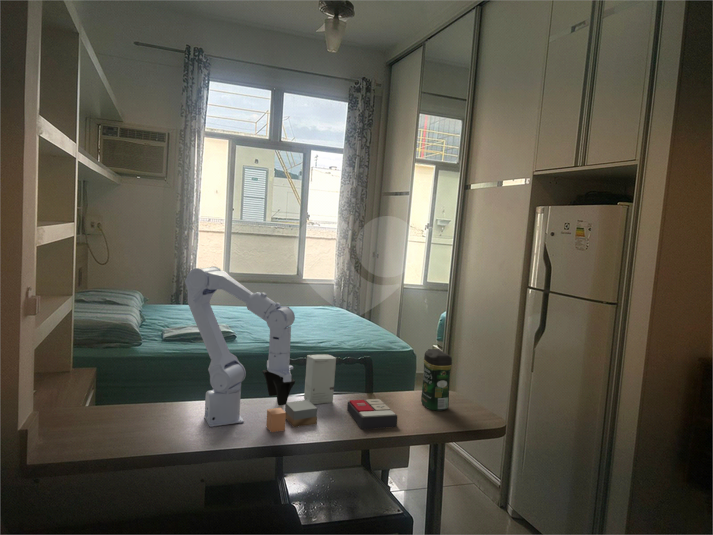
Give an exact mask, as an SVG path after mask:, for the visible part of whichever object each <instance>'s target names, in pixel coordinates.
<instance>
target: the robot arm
mask: <svg viewBox="0 0 713 535" xmlns="http://www.w3.org/2000/svg"><path fill="white" fill-rule="evenodd" d="M184 284H185V286H186V288H187V304H188V307H189V309H190V310H189V311H191V314H192V317H193V319H194V322H195V324H196V326H197V328H198V331H199V334H200V336H201V339H202V341H203V344H204V345H205V346H204V347H205V348H206V351H207V354H208V355H209V358H210V363H209V365H208V369H207V370H208V373H209V384H210V386H211V387H212V389H211V390H207V391H206V392H205V397H204V398H205V399H204V402H205V403H204V416H203V417H204V420H205V421H206V423H207V425H208V426H209V427H211V428H212V427H219V426H226V425H233V424H239V423H240V424H242V423H244V422H245V420H244V419H243V417H242V416H241V414H240V412H241V411H240V410H241V392H242V382H243V381H244V380H245V378H246V375H247V373H246V368H245V367H244V365H243V364H242V363H241V362H240V361H239V359H238V357H237V356H236V355H234V354H233V353H232V352H231V351H230V350H229V346H228V344H227V342H226V340H225V337H224V335H223V332H222V330H221V328H220V325H219V323H218V320H217V318H216V316H215V312H214V310H213V308H212V306H211V304H210V301H211V299H212V297H213V296H214V294H215V293H216V292H217V290H223V291H224V292H226V293H228V294H229V295H231V296H234V297H235V298H237V299H238V300H240V301H241V302H243V303H245V305H246V309H247V310H248V311H249V312H251V313H252V314H254V315H255V316H257V317H258V318H260V319H262V320H263V321H265V322H266V325H267V326H268V328H269V345H268V360H266V368H267V369H263V370H262V374H263V375H264V378H265V381H266V386H267V387H266V388H267V393H268V396H269V397H274V396H276V402H277V405H278V407H279V406H285V405H286V403H287V402H288V398H289V396H290V392H291V390H292V388H293V386H294V385H295V382H296V380H295V379H294V378H292V374H291V370H294V366H293V365H291V364H290V361H291V360H290V359H291V358H290V357H291V342H292V341H291V337H292V335H291V334H292V325H293V324H294V322H295V320H296V316H295V312H294V311H293V309H291V308H290V306H287V305H283V306H282V304H281V303H280V302H275V301H274V300H272V299H271V298H269V297H268V293H267V292H260V291H257V292H252V291H251V290H249V288H247V287H245V286H244V285H243V284H242V283H240V282H239V281H237V279H235V278H233V277H232V276H230V274H228V272H227V271H225V270H222V269H221V268H220V267H217V266H211V267H202V268H201V267H200V268H199V267H198V268H197V267H195V268H192V269H191V270H190V271H189V272H188V274H187V276H186V278H185V279H184Z"/></svg>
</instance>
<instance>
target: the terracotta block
mask: <svg viewBox="0 0 713 535" xmlns="http://www.w3.org/2000/svg"><path fill="white" fill-rule="evenodd" d="M286 420H287V419H286V411H285V409H283V408H282V407H276V408H267V409H266V422H265V423H266V425H265V427H266V426H267V427H266V428H267V430H268V431H269V430H270V431H271V432H270V431H269V432H270V433H276V431H277V432H283V431H285V430H286Z"/></svg>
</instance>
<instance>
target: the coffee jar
mask: <svg viewBox="0 0 713 535" xmlns="http://www.w3.org/2000/svg"><path fill="white" fill-rule="evenodd" d="M452 361H453V360H452V356H451V355H449V354H448V353H446V352H444V351H443V350H441V349H438V348H429V349H427V350H426V351H425V352H424V357H423V375H422V376H423V377H422V385H421V386H422V388H421V399H420V402H421V404H422V405H423V406H424V407H425V408H427V409H428V410H430V411H431V410H433V411H437V412H439V411H440V412H441V411H442V412H443V411H445V410H448V408H449V405H450V402H449V400H450V380H451V379H450V378H451V371H452V370H451V369H452V364H453V362H452Z"/></svg>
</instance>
